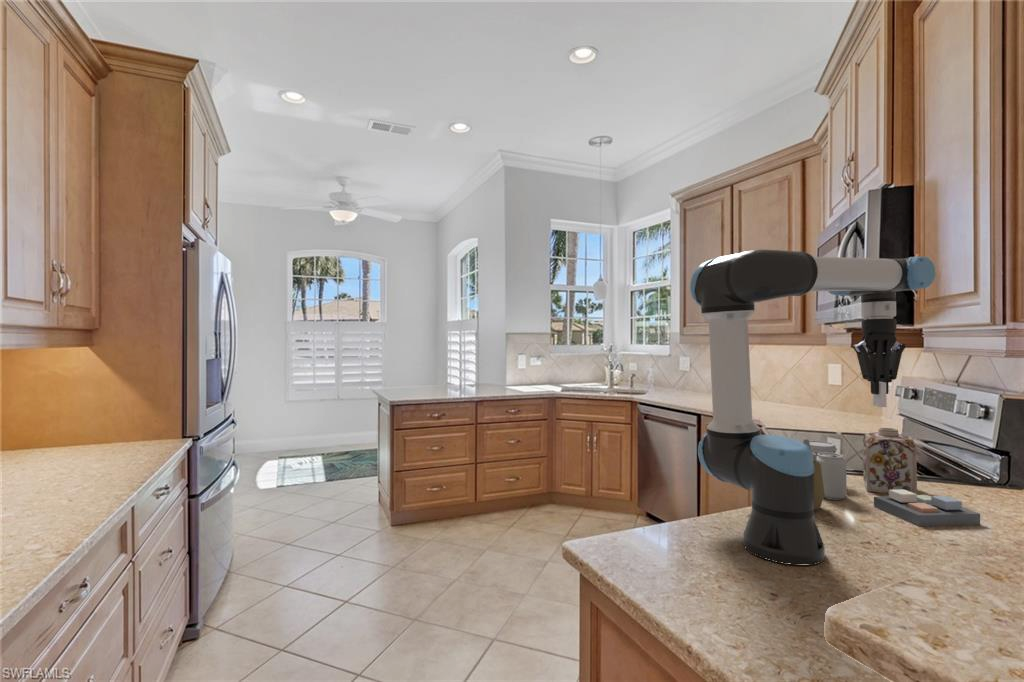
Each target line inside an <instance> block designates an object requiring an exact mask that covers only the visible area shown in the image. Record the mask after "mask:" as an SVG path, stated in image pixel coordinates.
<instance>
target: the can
mask: <svg viewBox="0 0 1024 682" xmlns="http://www.w3.org/2000/svg"><path fill="white" fill-rule="evenodd" d="M817 455H818V456H817V460H816V461H817V462H819V463H820V464H821V470H822V478H823V486H824V494H825V496H824V498H823V499H828V500H837V501H839V500H843V499H844V498H846V497H847V495H848V494H847V491H848V490H847V461H846V460H845V458H844V455H843V454H840V453H836V452H835V453H828V452H821V453H818V454H817Z"/></svg>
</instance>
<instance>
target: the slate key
mask: <svg viewBox="0 0 1024 682" xmlns="http://www.w3.org/2000/svg"><path fill="white" fill-rule="evenodd" d="M930 496H931V504H932V505H934V506H937V507H940V508H941V510H942V511H944V512H952V510H961V509H962V507H963V501H962V500H960V499H957V498H954V497H951V496H948V495H941V496H939V495H936V496H934V495H933V496H932V495H930Z"/></svg>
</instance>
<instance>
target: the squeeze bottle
mask: <svg viewBox="0 0 1024 682" xmlns="http://www.w3.org/2000/svg"><path fill="white" fill-rule="evenodd" d="M809 441H810V439H808V438H804V439H803V440H802V443H804V444H805V445H807V446H808V447H809V448H810V449H811V446H810V443H809ZM811 451H812V450H811ZM812 454H813V464H814V468H815V470H814V511H815V510H817V511H818V510H819V509H820V508H821V507H822V503H823V501H824V499H825V498H824V496H825V494H824V486H823V478H822V470H821V464H820V463H819V462H817V461H816V460H817V454H816V453H813V452H812Z"/></svg>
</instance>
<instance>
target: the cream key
mask: <svg viewBox="0 0 1024 682" xmlns="http://www.w3.org/2000/svg"><path fill="white" fill-rule="evenodd" d="M917 495H918V493H917V494H915V493H912V492H910V491H907V490H904V489H898V490H889V494H888V496H889V498H892V499H894V500H897V501H898V503H899V504H908V502H917Z"/></svg>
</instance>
